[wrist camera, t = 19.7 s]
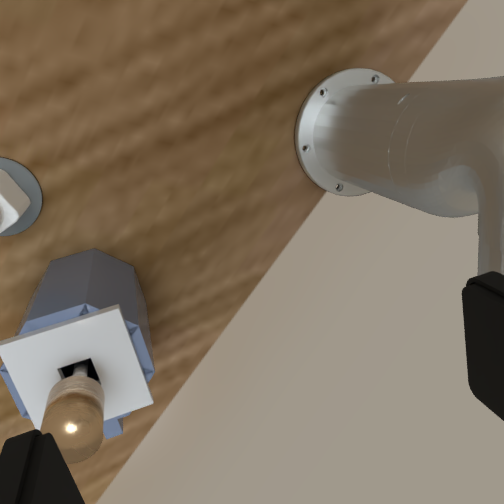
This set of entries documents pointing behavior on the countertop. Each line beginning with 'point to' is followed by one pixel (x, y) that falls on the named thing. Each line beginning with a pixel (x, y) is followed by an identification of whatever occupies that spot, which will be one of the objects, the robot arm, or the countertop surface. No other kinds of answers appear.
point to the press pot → (83, 337)
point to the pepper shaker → (11, 201)
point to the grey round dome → (29, 188)
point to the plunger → (75, 414)
